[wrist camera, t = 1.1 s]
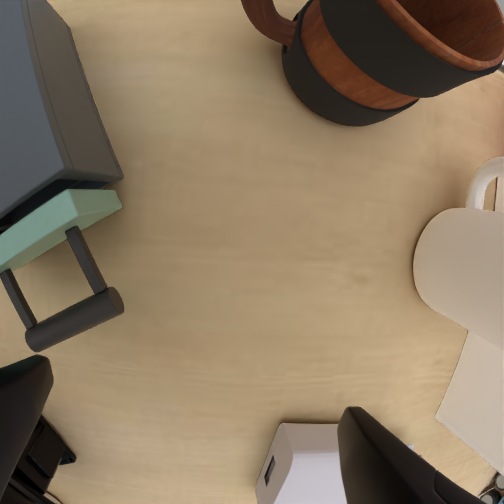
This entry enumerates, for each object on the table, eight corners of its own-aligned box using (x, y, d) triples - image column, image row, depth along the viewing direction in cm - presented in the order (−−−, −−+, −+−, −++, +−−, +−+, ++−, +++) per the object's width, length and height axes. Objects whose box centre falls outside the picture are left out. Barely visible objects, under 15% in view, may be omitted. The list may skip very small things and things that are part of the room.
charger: (387, 477, 26) (253, 487, 24) (425, 413, 25) (280, 417, 23) (405, 505, 22) (261, 525, 19) (451, 441, 20) (294, 458, 18)
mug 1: (242, -8, 17) (271, -130, 5) (398, 43, 19) (502, -21, 7) (212, 97, 18) (217, -14, 7) (388, 145, 20) (522, 120, 8)
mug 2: (417, 149, 20) (529, 135, 10) (488, 169, 21) (583, 170, 11) (400, 311, 22) (493, 374, 12) (471, 306, 23) (556, 349, 13)
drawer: (158, 279, 19) (133, 323, 12) (55, 328, 18) (6, 378, 12) (65, 53, 15) (17, 8, 9) (-25, 121, 15) (-86, 106, 8)
